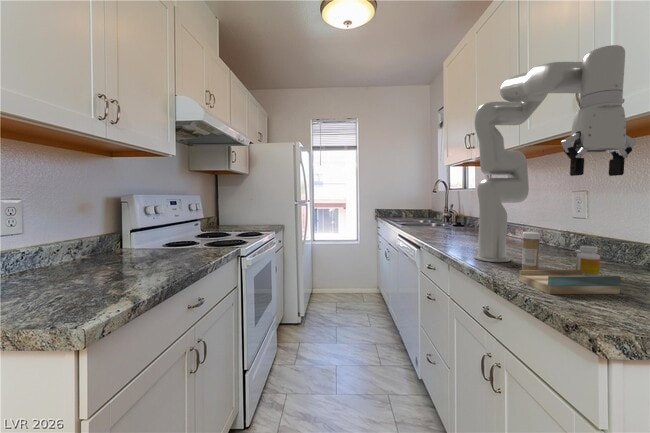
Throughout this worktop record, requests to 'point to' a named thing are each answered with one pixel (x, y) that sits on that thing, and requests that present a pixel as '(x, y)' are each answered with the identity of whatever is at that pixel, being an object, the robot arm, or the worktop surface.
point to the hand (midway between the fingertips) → (596, 175)
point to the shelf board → (570, 282)
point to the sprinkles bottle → (530, 251)
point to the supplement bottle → (588, 261)
